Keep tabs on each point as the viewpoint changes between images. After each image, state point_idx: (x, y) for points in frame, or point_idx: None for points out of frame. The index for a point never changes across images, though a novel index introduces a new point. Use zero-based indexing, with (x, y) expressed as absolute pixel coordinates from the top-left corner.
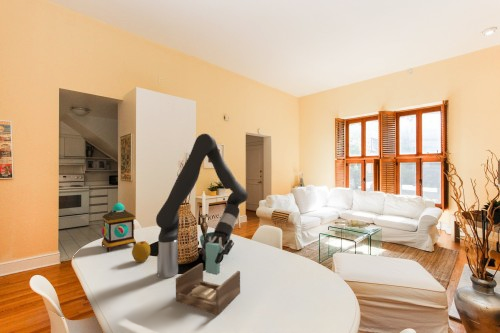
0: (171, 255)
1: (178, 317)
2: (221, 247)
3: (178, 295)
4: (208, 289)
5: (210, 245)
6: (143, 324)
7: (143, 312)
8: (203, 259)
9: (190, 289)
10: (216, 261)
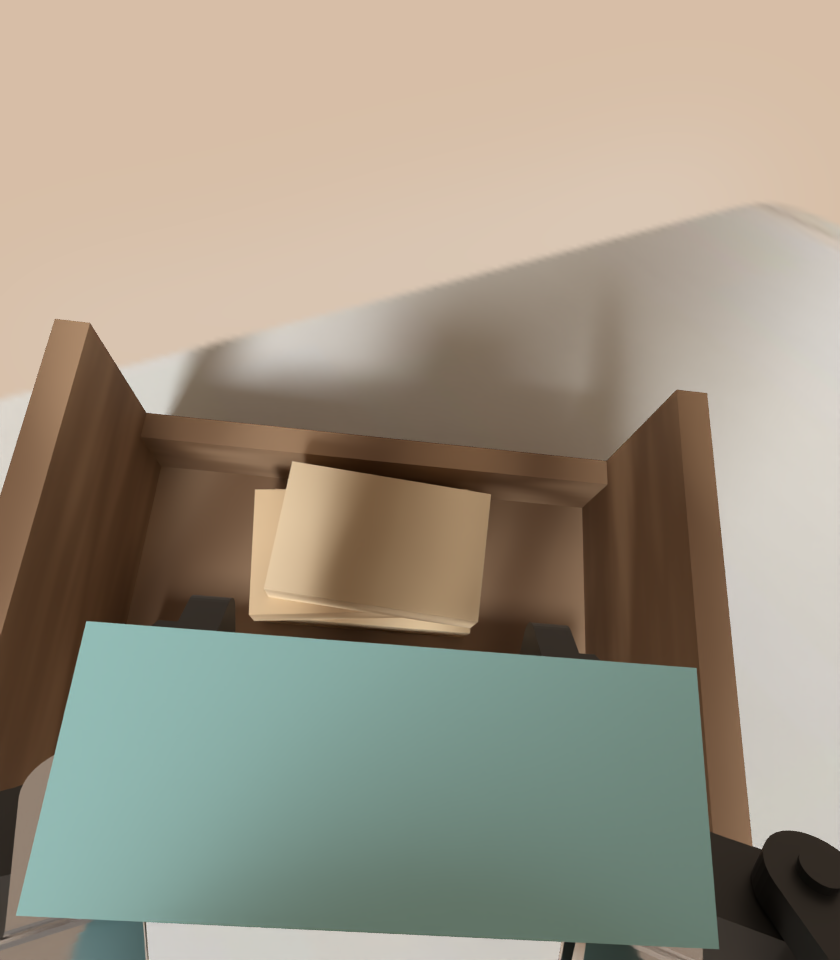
0: None
1: (462, 384)
2: (24, 933)
3: (593, 463)
4: (324, 565)
5: (432, 652)
6: (620, 270)
7: (730, 357)
8: (538, 626)
9: (597, 656)
10: (192, 605)
